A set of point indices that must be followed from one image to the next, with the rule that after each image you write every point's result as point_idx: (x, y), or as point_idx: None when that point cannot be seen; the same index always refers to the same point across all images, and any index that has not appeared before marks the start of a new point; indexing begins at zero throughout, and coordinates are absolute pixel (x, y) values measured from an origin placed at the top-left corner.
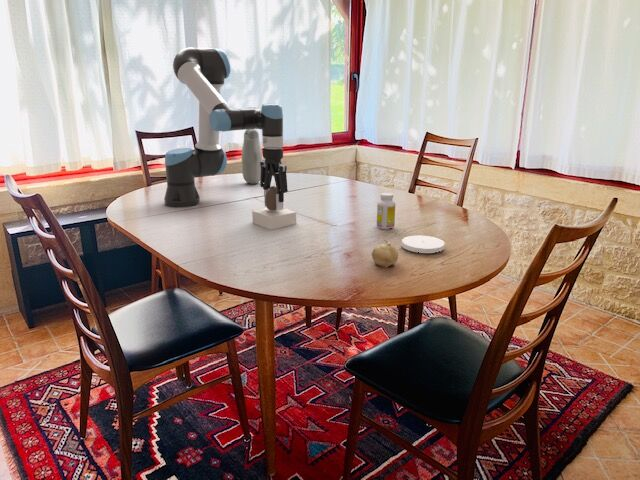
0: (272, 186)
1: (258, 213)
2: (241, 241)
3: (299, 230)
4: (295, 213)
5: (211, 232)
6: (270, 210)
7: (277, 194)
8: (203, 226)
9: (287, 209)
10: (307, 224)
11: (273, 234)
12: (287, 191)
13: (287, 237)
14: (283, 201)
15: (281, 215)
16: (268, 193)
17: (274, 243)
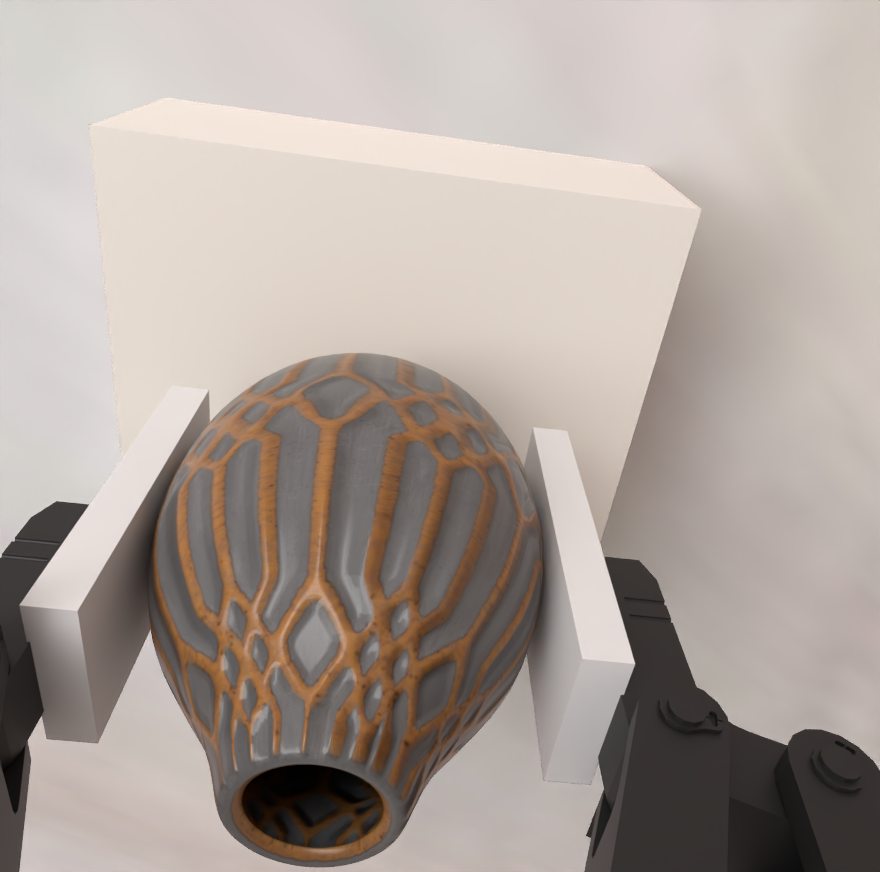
0: (231, 795)
1: None
2: (586, 829)
3: (858, 359)
4: (688, 220)
5: (234, 839)
6: None
7: (588, 768)
8: (36, 804)
9: (447, 190)
10: (818, 65)
11: (684, 612)
12: (868, 758)
13: (863, 591)
14: (641, 564)
15: (615, 492)
16: (331, 783)
17: (845, 736)
